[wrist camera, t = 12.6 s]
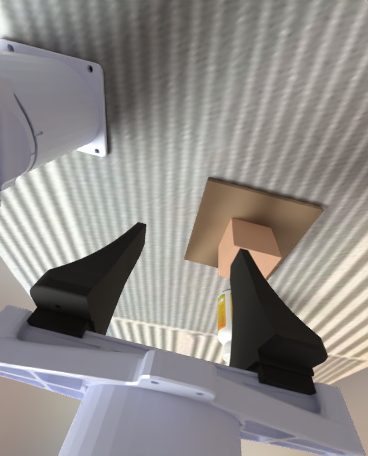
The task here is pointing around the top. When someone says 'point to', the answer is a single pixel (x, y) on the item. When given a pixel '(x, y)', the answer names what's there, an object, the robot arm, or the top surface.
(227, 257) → the terracotta block
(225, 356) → the supplement bottle
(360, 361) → the top surface
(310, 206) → the walnut board
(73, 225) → the top surface
